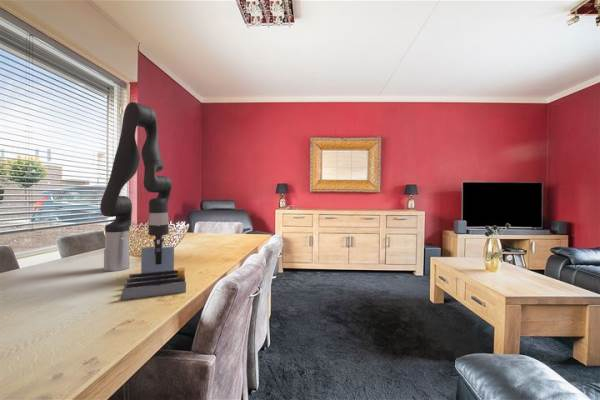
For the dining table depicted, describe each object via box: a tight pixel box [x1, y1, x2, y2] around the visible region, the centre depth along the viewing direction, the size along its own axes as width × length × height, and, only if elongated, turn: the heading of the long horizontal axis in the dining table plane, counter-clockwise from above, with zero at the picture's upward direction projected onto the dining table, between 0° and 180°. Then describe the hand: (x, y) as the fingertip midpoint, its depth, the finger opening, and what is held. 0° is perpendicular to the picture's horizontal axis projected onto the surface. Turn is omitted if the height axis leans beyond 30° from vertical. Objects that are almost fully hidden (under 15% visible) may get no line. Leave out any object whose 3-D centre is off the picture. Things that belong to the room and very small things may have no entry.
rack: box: [121, 267, 187, 302], centre depth 100 cm, size 19×18×6 cm
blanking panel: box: [140, 245, 175, 273], centre depth 115 cm, size 12×3×12 cm, turn 116°
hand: (158, 261), depth 115 cm, fingers open, 8 cm apart
